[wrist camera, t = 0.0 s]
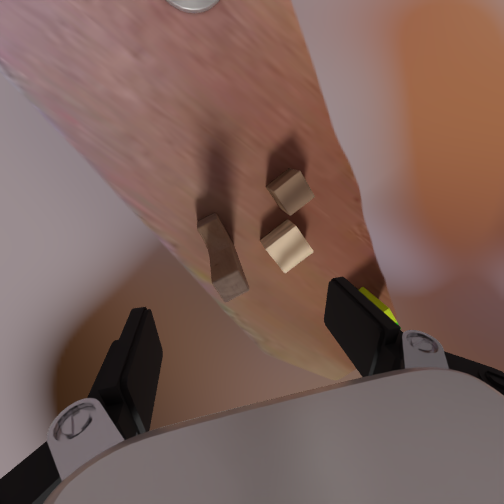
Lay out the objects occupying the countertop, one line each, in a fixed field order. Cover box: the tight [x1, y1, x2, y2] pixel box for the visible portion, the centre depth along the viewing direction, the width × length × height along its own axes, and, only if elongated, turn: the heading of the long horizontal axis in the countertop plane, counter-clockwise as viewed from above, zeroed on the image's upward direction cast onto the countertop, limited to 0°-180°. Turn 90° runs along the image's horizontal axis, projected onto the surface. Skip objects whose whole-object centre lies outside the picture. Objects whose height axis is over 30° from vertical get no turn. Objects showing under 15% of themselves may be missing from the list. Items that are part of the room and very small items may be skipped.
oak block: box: [260, 219, 313, 273], centre depth 51 cm, size 8×8×5 cm
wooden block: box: [197, 213, 249, 302], centre depth 41 cm, size 9×4×18 cm, turn 24°
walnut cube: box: [266, 168, 315, 216], centre depth 45 cm, size 6×6×6 cm
